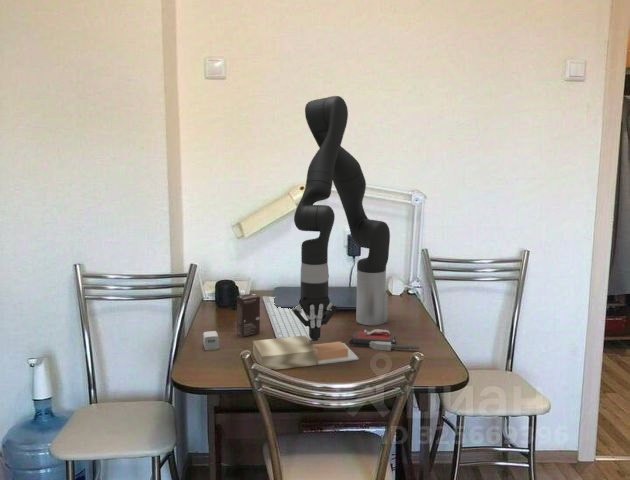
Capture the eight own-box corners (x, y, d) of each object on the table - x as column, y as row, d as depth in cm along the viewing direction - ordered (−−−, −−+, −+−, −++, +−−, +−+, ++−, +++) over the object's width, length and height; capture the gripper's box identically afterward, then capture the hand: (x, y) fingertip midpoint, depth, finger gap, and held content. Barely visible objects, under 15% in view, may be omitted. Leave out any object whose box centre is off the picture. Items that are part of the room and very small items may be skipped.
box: (243, 337, 180) (242, 299, 178) (236, 333, 184) (235, 295, 182) (261, 334, 184) (260, 296, 181) (254, 329, 187) (253, 292, 185)
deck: (305, 348, 172) (305, 335, 171) (317, 364, 160) (317, 350, 160) (253, 354, 167) (252, 340, 167) (262, 371, 156) (262, 356, 155)
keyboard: (318, 342, 178) (318, 334, 178) (276, 345, 176) (276, 337, 176) (296, 300, 221) (296, 293, 221) (262, 301, 219) (262, 295, 218)
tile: (340, 348, 171) (340, 341, 170) (347, 356, 165) (347, 348, 165) (310, 352, 168) (310, 345, 167) (316, 360, 162) (316, 352, 162)
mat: (344, 344, 175) (344, 343, 175) (358, 359, 164) (358, 358, 164) (305, 348, 172) (305, 347, 172) (318, 364, 160) (318, 363, 160)
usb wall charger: (204, 350, 171) (204, 337, 170) (202, 342, 177) (202, 329, 176) (219, 349, 172) (218, 335, 171) (216, 340, 178) (215, 327, 177)
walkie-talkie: (348, 349, 172) (419, 354, 169) (348, 335, 171) (419, 339, 168) (351, 339, 180) (419, 343, 177) (351, 325, 180) (419, 328, 176)
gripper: (333, 273, 168) (333, 332, 171) (287, 276, 164) (287, 337, 167) (342, 280, 161) (341, 341, 164) (294, 283, 157) (294, 347, 160)
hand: (314, 339), depth 165 cm, fingers closed
